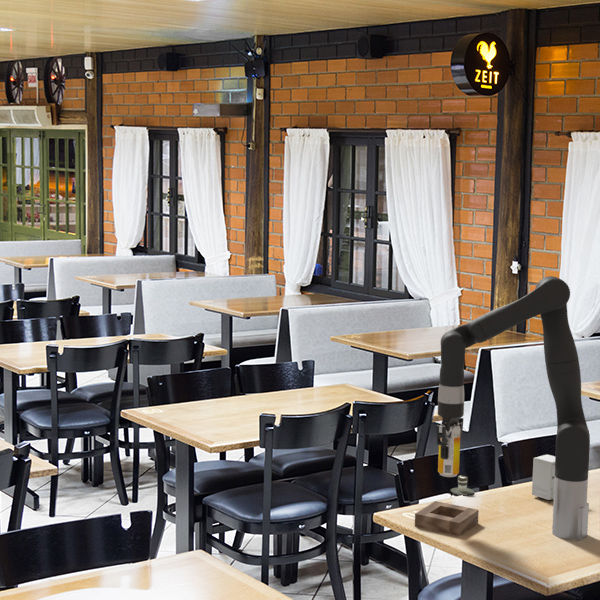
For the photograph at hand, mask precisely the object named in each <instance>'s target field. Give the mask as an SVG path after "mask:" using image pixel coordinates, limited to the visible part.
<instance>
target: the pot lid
mask: <svg viewBox="0 0 600 600" xmlns="http://www.w3.org/2000/svg"><path fill="white" fill-rule="evenodd" d="M468 481H469V478H468V476H465V475H457V485H458V486H457V487H453V488H451V489H450V492H451V493H452V494H456V495H459V496H460V495H462V496H464V495H465V496H466V495H467V496H469V495H473V494H474V493H475V491H474V490H473V489H471V488H470V487H469V488H468Z"/></svg>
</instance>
